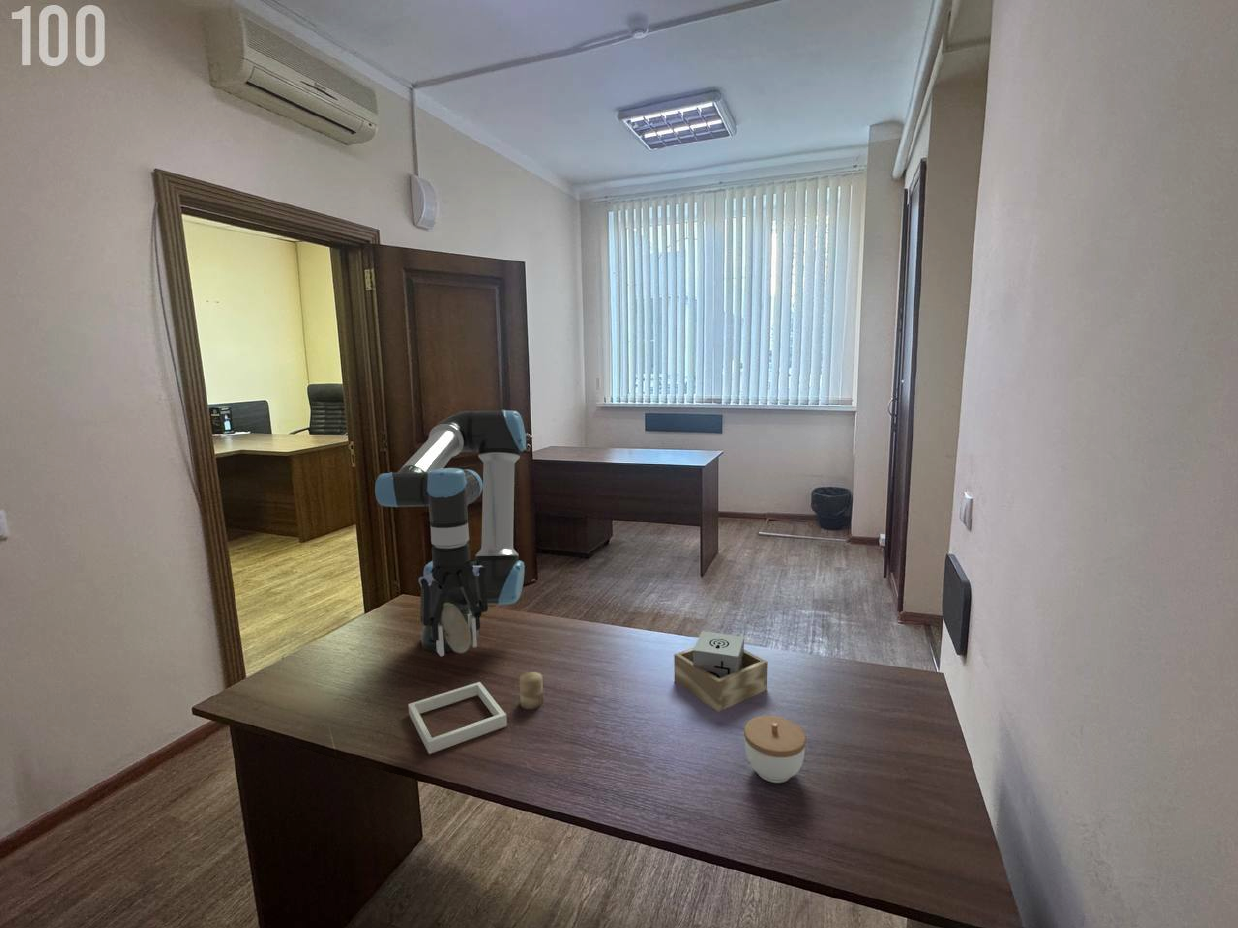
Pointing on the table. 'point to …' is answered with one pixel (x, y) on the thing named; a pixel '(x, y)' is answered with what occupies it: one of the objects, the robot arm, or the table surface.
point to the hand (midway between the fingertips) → (457, 648)
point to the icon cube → (719, 653)
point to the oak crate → (721, 680)
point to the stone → (455, 628)
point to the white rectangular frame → (461, 733)
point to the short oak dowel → (531, 690)
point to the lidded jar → (774, 747)
